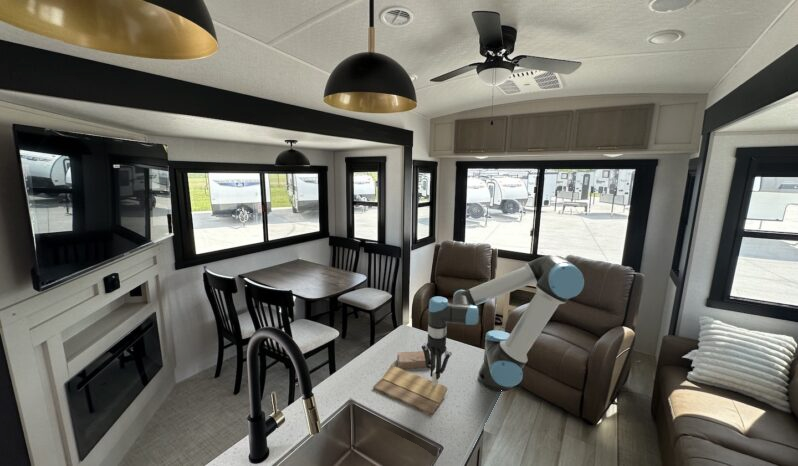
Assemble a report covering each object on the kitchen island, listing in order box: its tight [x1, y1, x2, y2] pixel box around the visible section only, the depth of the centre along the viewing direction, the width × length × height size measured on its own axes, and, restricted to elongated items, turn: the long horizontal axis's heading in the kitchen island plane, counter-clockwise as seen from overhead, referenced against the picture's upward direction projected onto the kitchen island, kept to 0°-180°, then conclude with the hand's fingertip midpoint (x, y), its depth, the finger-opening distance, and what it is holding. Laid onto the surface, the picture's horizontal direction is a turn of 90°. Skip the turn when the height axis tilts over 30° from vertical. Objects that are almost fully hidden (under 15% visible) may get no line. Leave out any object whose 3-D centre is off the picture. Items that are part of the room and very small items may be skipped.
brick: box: [396, 350, 431, 370], centre depth 152 cm, size 17×8×5 cm, turn 96°
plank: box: [381, 364, 448, 406], centre depth 134 cm, size 28×8×1 cm, turn 58°
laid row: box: [372, 378, 440, 417], centre depth 128 cm, size 28×6×1 cm, turn 58°
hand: (434, 384), depth 132 cm, fingers closed
